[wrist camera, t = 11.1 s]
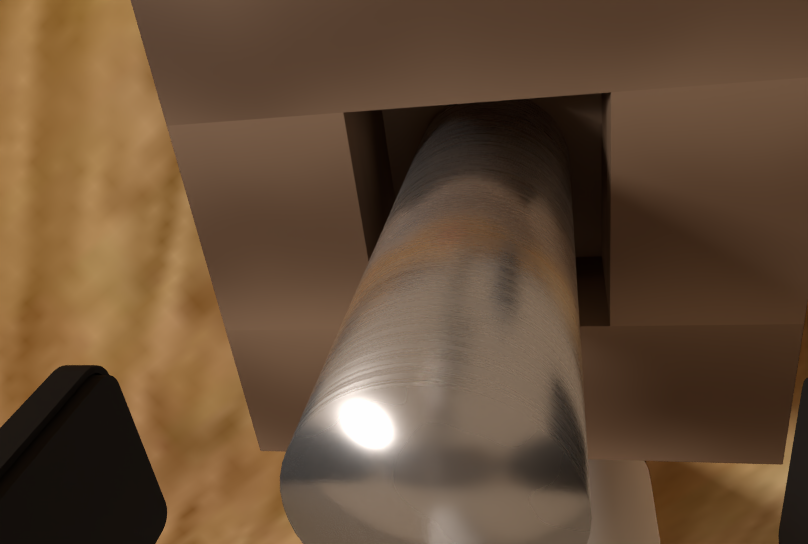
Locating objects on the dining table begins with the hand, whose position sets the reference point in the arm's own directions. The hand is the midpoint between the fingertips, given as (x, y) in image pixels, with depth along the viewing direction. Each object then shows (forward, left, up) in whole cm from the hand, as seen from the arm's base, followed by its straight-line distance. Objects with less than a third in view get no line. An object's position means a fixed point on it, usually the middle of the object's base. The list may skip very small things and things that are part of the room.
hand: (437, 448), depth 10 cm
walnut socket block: (0, 0, -13) cm, 13 cm away
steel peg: (0, 0, -11) cm, 11 cm away
